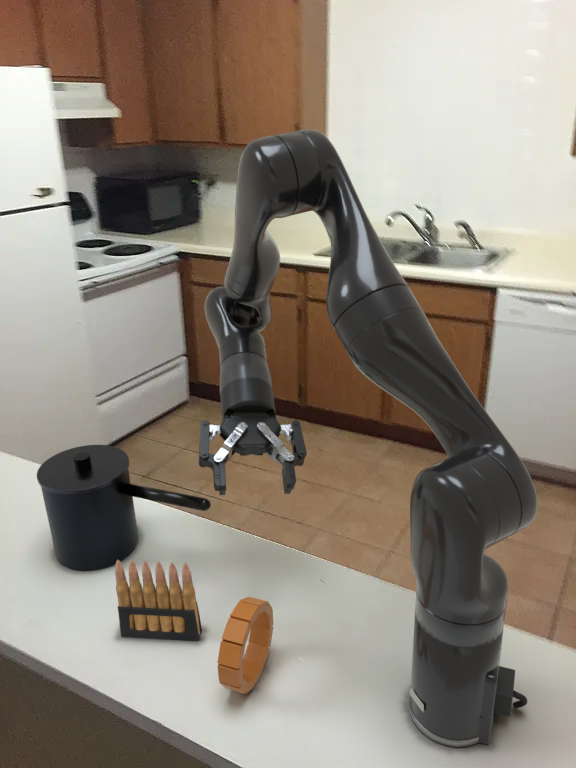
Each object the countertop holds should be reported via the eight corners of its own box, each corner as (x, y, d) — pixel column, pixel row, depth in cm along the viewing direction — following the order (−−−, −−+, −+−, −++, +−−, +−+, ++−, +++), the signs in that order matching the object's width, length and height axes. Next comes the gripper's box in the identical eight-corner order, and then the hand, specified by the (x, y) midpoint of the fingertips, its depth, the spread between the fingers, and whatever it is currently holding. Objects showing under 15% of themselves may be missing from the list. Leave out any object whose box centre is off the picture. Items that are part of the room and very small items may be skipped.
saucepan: (235, 545, 106) (228, 456, 100) (194, 602, 95) (183, 505, 88) (88, 513, 116) (73, 429, 109) (35, 561, 104) (14, 471, 98)
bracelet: (275, 648, 86) (271, 584, 82) (241, 712, 78) (235, 645, 73) (256, 643, 87) (252, 579, 83) (221, 706, 79) (214, 639, 74)
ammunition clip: (202, 630, 90) (194, 558, 85) (199, 641, 88) (190, 567, 83) (125, 626, 91) (113, 555, 86) (120, 636, 89) (108, 564, 84)
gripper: (197, 375, 92) (202, 478, 82) (299, 376, 94) (315, 475, 84) (195, 407, 97) (198, 507, 87) (291, 407, 100) (305, 504, 90)
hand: (256, 491), depth 86 cm, fingers open, 8 cm apart
